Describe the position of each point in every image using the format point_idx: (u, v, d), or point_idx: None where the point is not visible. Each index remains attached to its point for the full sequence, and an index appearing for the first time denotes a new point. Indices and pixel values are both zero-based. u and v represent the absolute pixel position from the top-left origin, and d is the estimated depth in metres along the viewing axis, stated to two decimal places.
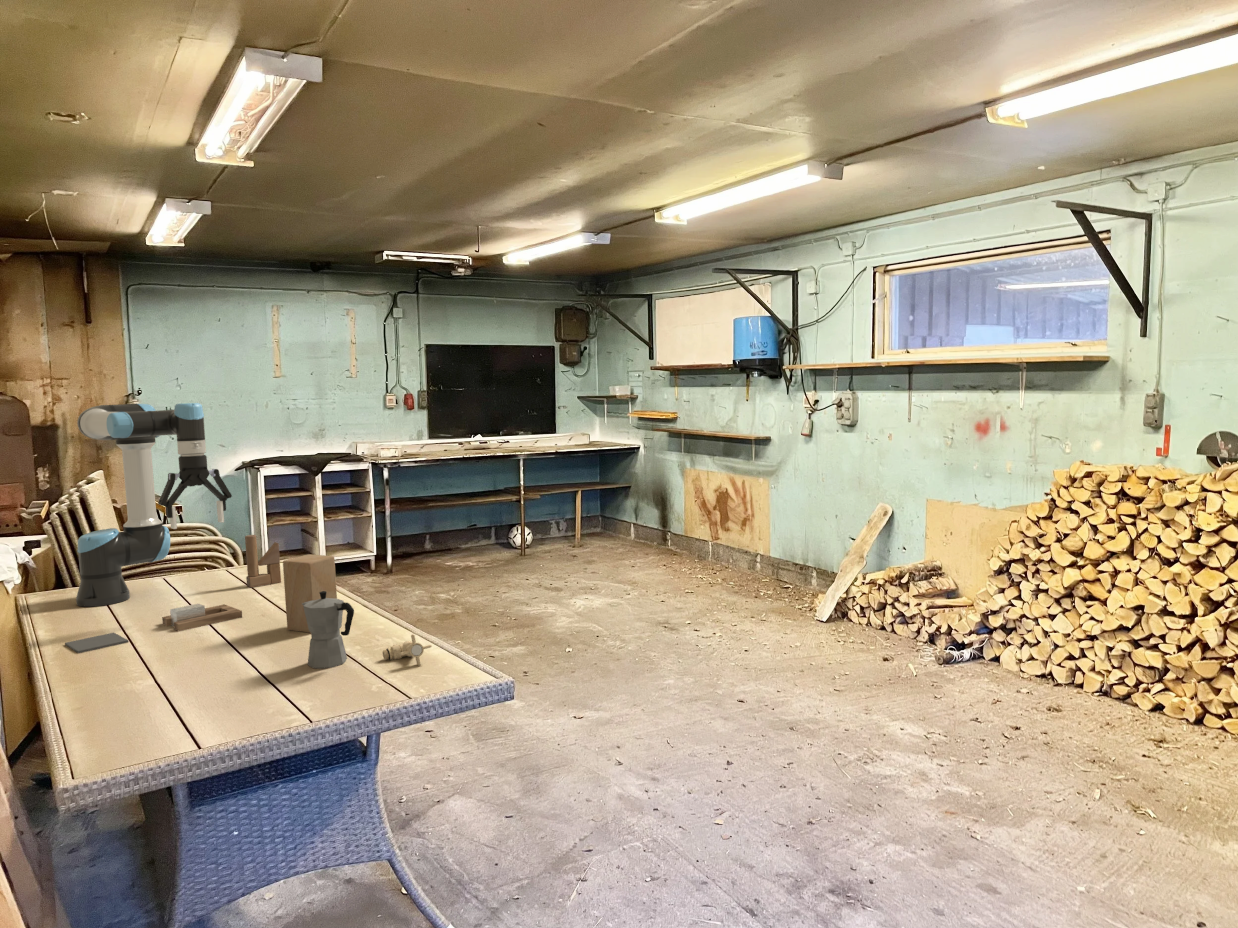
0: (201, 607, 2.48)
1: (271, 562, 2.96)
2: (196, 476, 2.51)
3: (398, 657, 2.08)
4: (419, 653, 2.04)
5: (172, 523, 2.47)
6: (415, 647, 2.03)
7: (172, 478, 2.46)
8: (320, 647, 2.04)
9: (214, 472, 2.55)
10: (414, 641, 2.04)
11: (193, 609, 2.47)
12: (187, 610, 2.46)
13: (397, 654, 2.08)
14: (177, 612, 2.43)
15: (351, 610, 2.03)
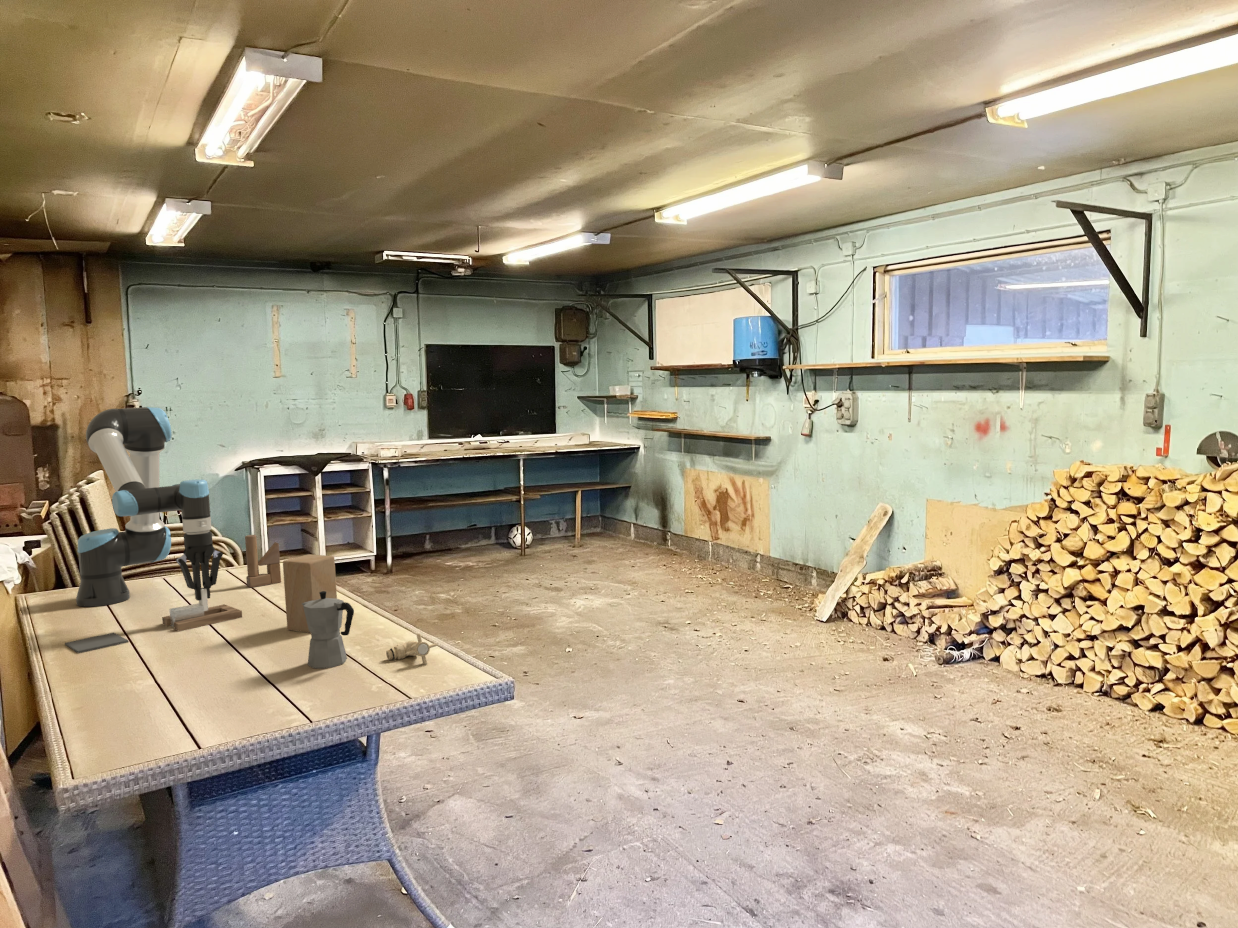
0: (200, 607, 2.48)
1: (271, 562, 2.96)
2: (202, 551, 2.49)
3: (402, 657, 2.09)
4: (425, 652, 2.04)
5: None
6: (421, 646, 2.04)
7: (182, 563, 2.45)
8: (320, 647, 2.04)
9: (218, 554, 2.53)
10: (420, 640, 2.04)
11: (192, 609, 2.46)
12: (186, 610, 2.45)
13: (401, 654, 2.08)
14: (175, 612, 2.43)
15: (351, 610, 2.03)
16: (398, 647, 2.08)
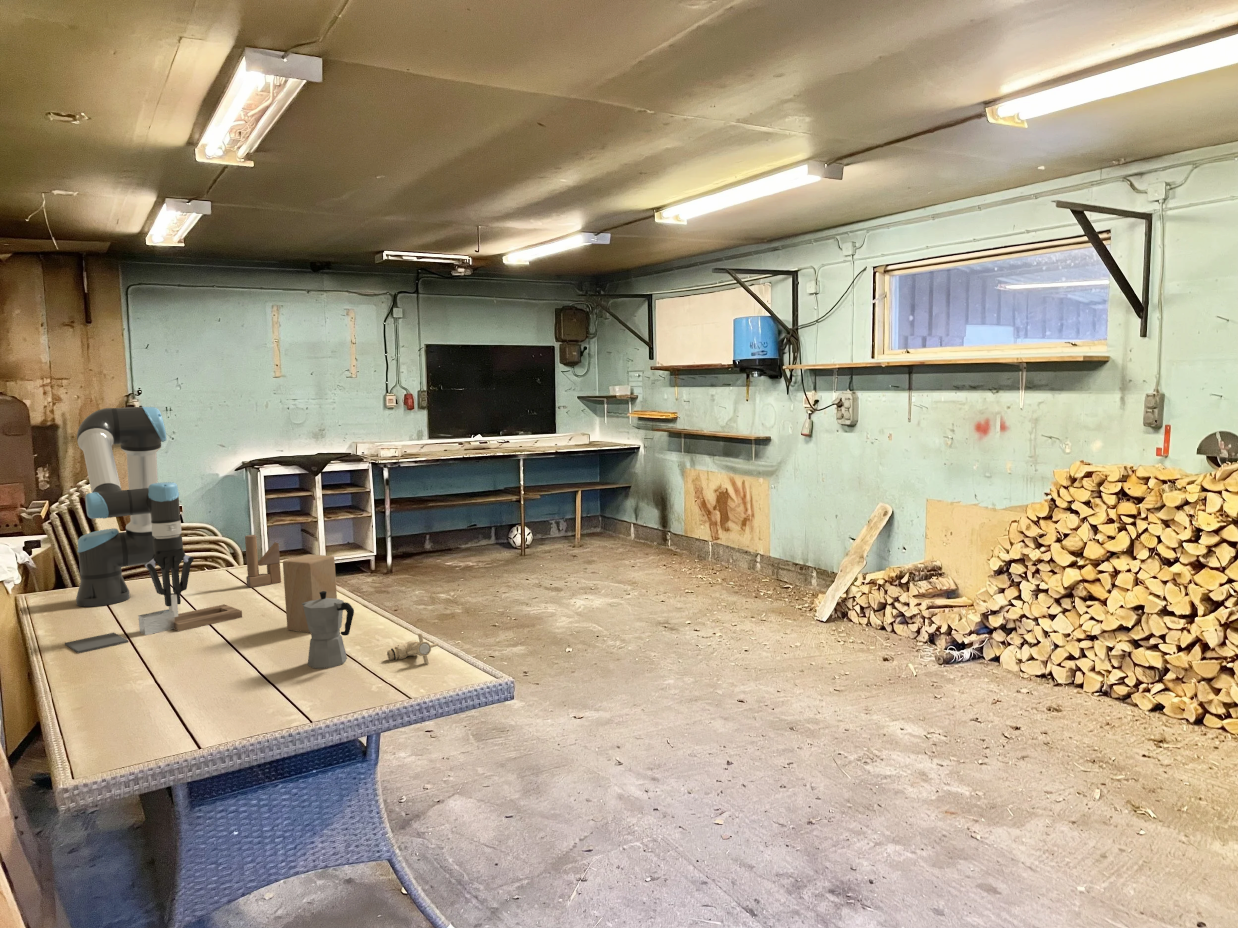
0: (170, 613, 2.42)
1: (271, 562, 2.96)
2: (172, 556, 2.43)
3: (403, 657, 2.09)
4: (427, 652, 2.04)
5: None
6: (422, 646, 2.04)
7: (151, 568, 2.39)
8: (320, 647, 2.04)
9: (188, 558, 2.47)
10: (421, 640, 2.04)
11: (162, 615, 2.40)
12: (155, 616, 2.39)
13: (402, 654, 2.08)
14: (145, 618, 2.37)
15: (351, 610, 2.03)
16: (399, 647, 2.08)
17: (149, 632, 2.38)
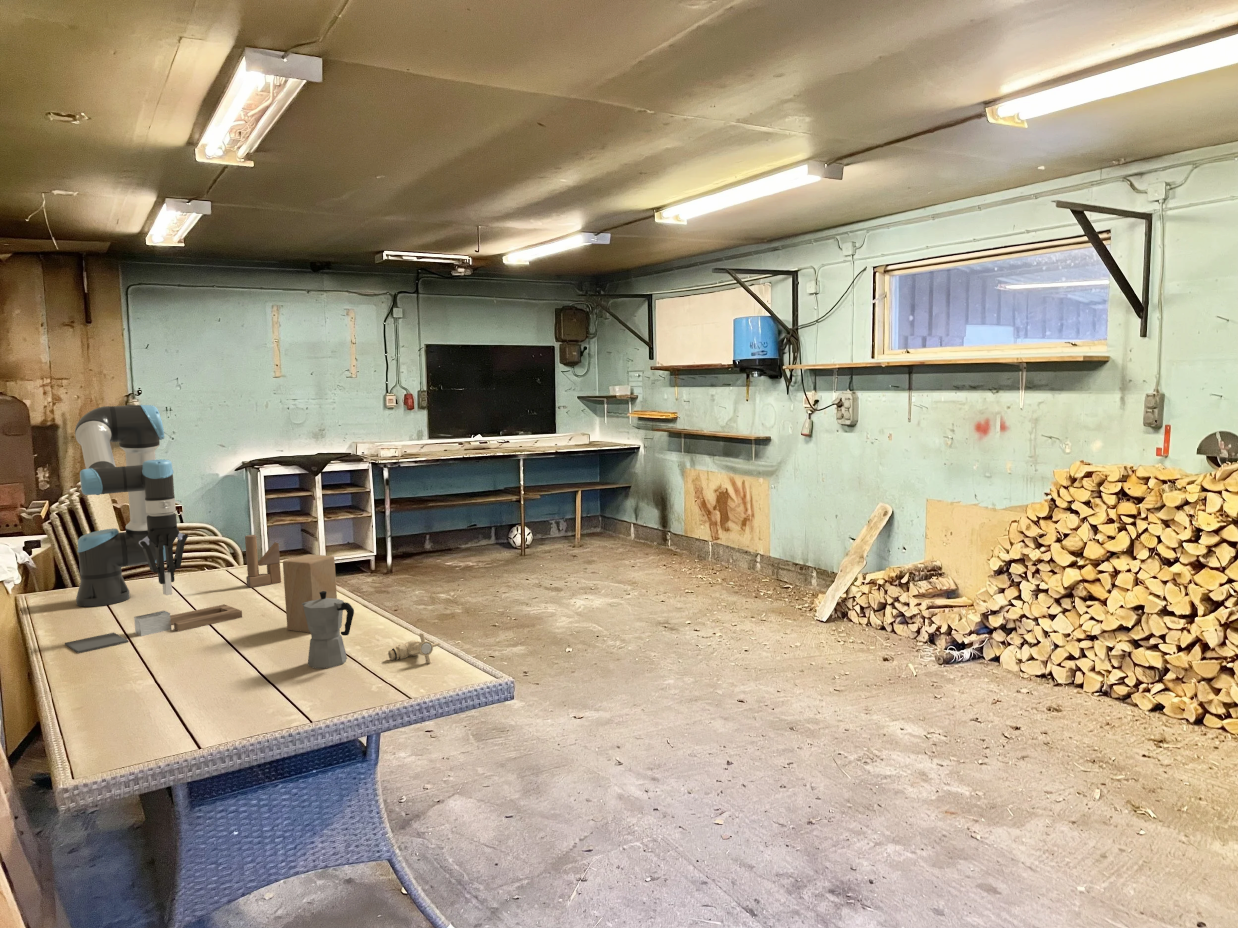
0: (166, 614, 2.41)
1: (271, 562, 2.96)
2: (166, 533, 2.41)
3: (404, 656, 2.09)
4: (429, 651, 2.05)
5: (164, 589, 2.43)
6: (424, 646, 2.04)
7: (145, 546, 2.37)
8: (320, 647, 2.04)
9: (182, 536, 2.45)
10: (423, 640, 2.05)
11: (158, 617, 2.39)
12: (151, 618, 2.38)
13: (404, 653, 2.08)
14: (141, 620, 2.36)
15: (351, 610, 2.03)
16: (400, 647, 2.08)
17: (145, 634, 2.37)
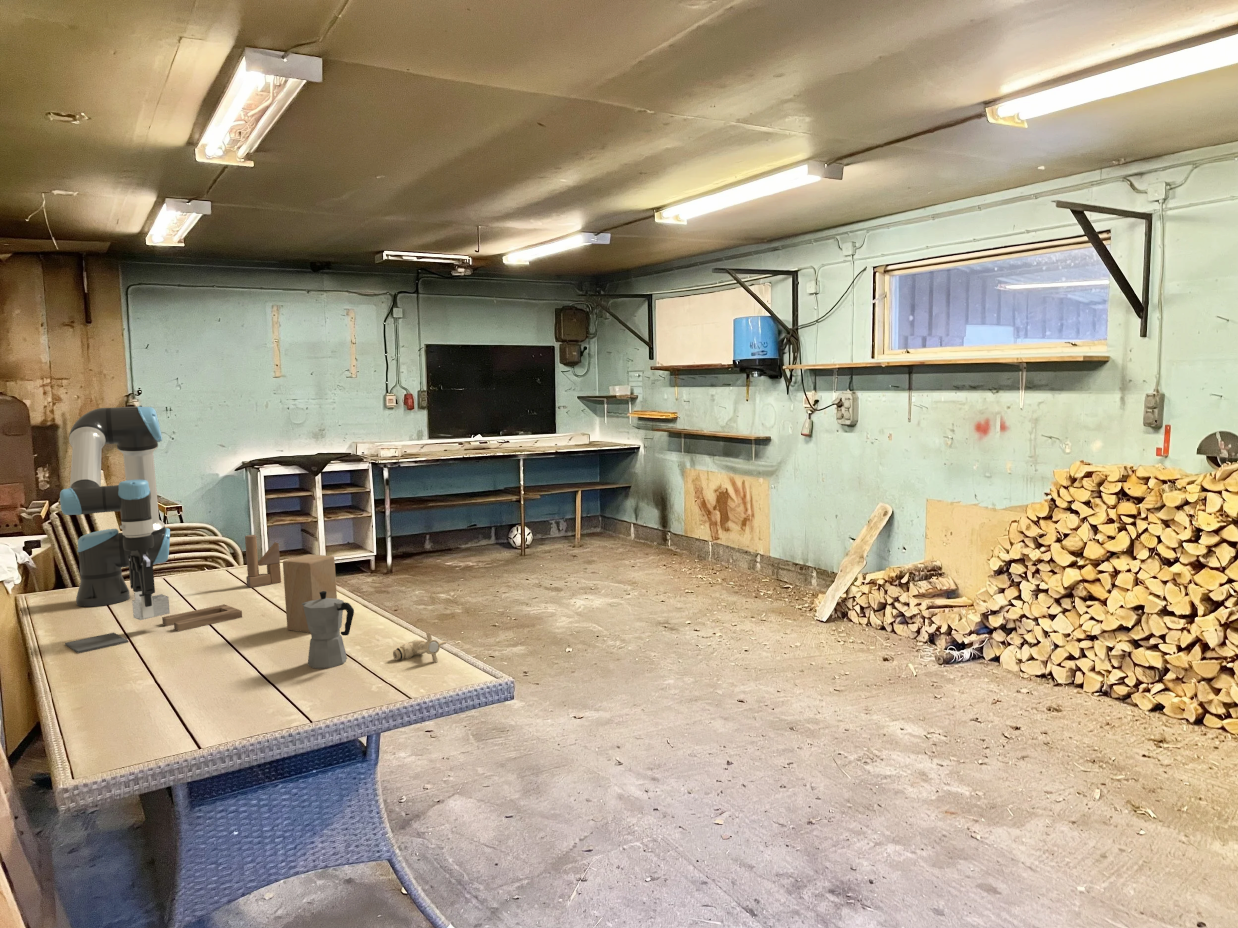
0: (165, 598, 2.42)
1: (271, 562, 2.96)
2: (135, 556, 2.37)
3: (409, 656, 2.09)
4: (436, 650, 2.06)
5: None
6: (432, 644, 2.05)
7: (128, 560, 2.41)
8: (320, 647, 2.04)
9: None
10: (430, 638, 2.06)
11: (156, 600, 2.40)
12: None
13: (409, 653, 2.09)
14: (140, 603, 2.36)
15: (351, 610, 2.03)
16: (405, 646, 2.09)
17: None
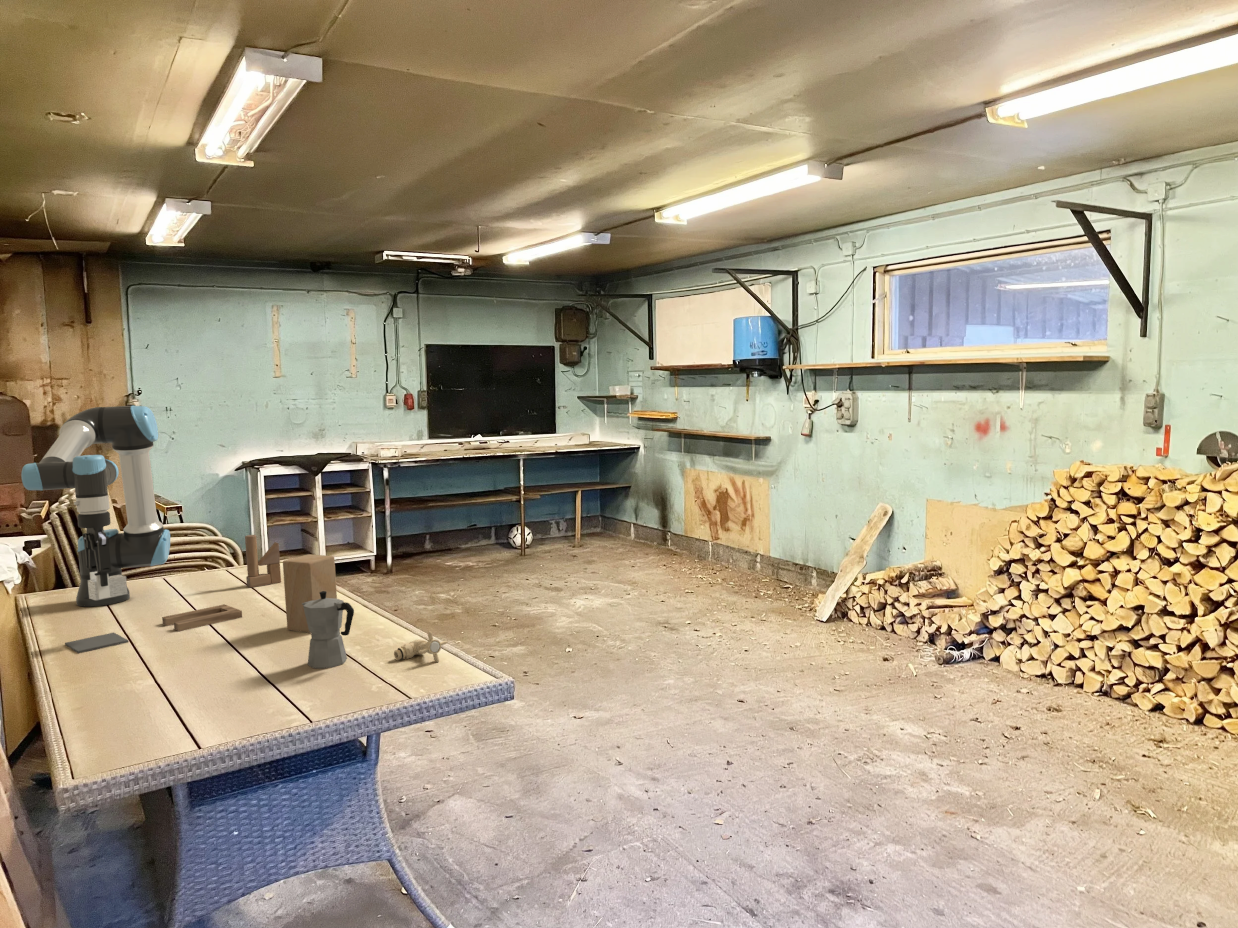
0: (122, 578, 2.33)
1: (271, 562, 2.96)
2: (91, 534, 2.28)
3: (410, 656, 2.09)
4: (437, 649, 2.06)
5: None
6: (433, 644, 2.05)
7: (84, 539, 2.32)
8: (320, 647, 2.04)
9: None
10: (432, 638, 2.06)
11: (113, 580, 2.31)
12: None
13: (410, 653, 2.09)
14: (96, 583, 2.28)
15: (351, 610, 2.03)
16: (406, 646, 2.09)
17: None
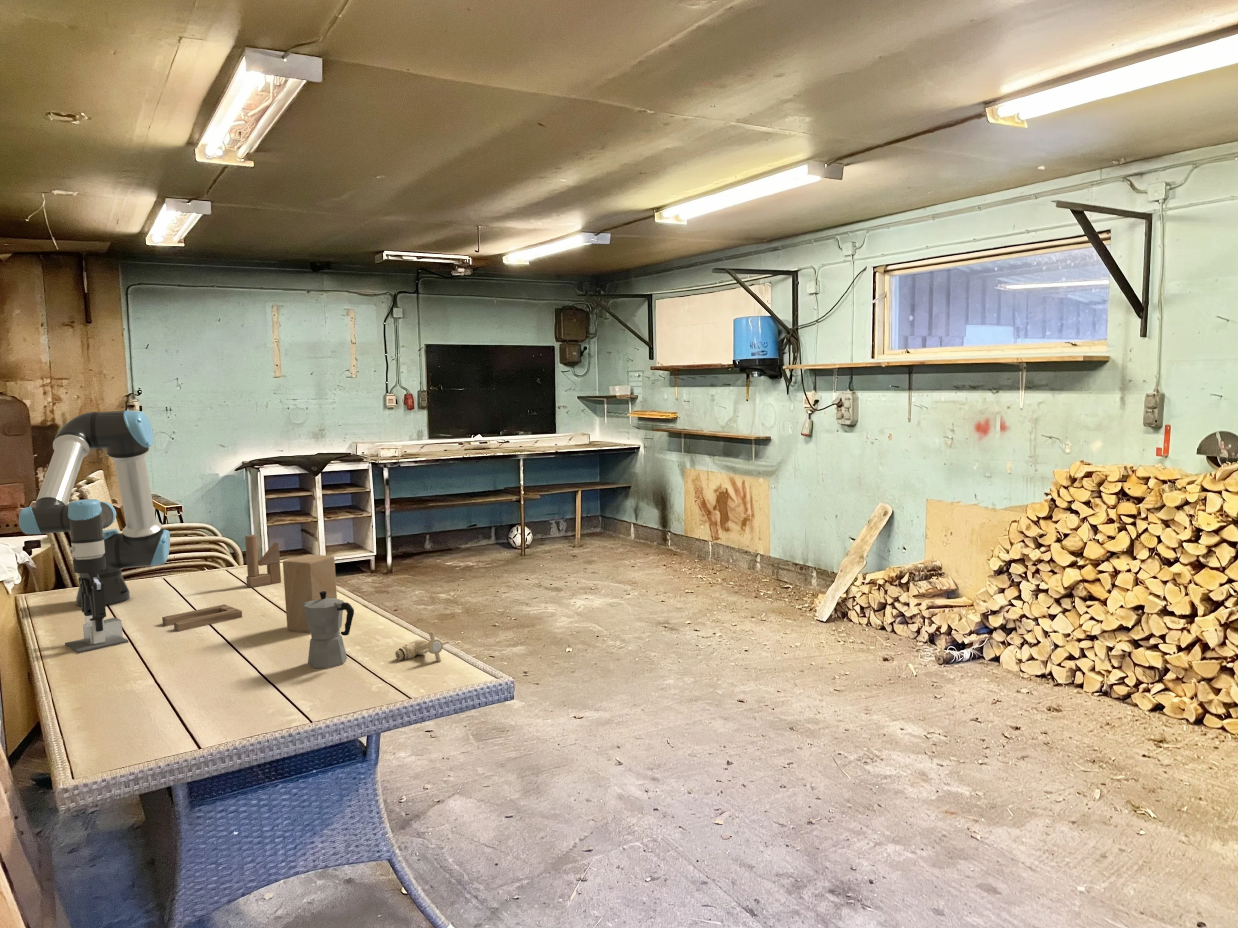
0: (117, 621, 2.32)
1: (271, 562, 2.96)
2: None
3: (412, 656, 2.09)
4: (439, 649, 2.06)
5: None
6: (435, 644, 2.06)
7: (79, 583, 2.32)
8: (320, 647, 2.04)
9: None
10: (433, 638, 2.06)
11: (108, 624, 2.31)
12: None
13: (411, 653, 2.09)
14: (90, 627, 2.27)
15: (351, 610, 2.03)
16: (408, 646, 2.09)
17: None
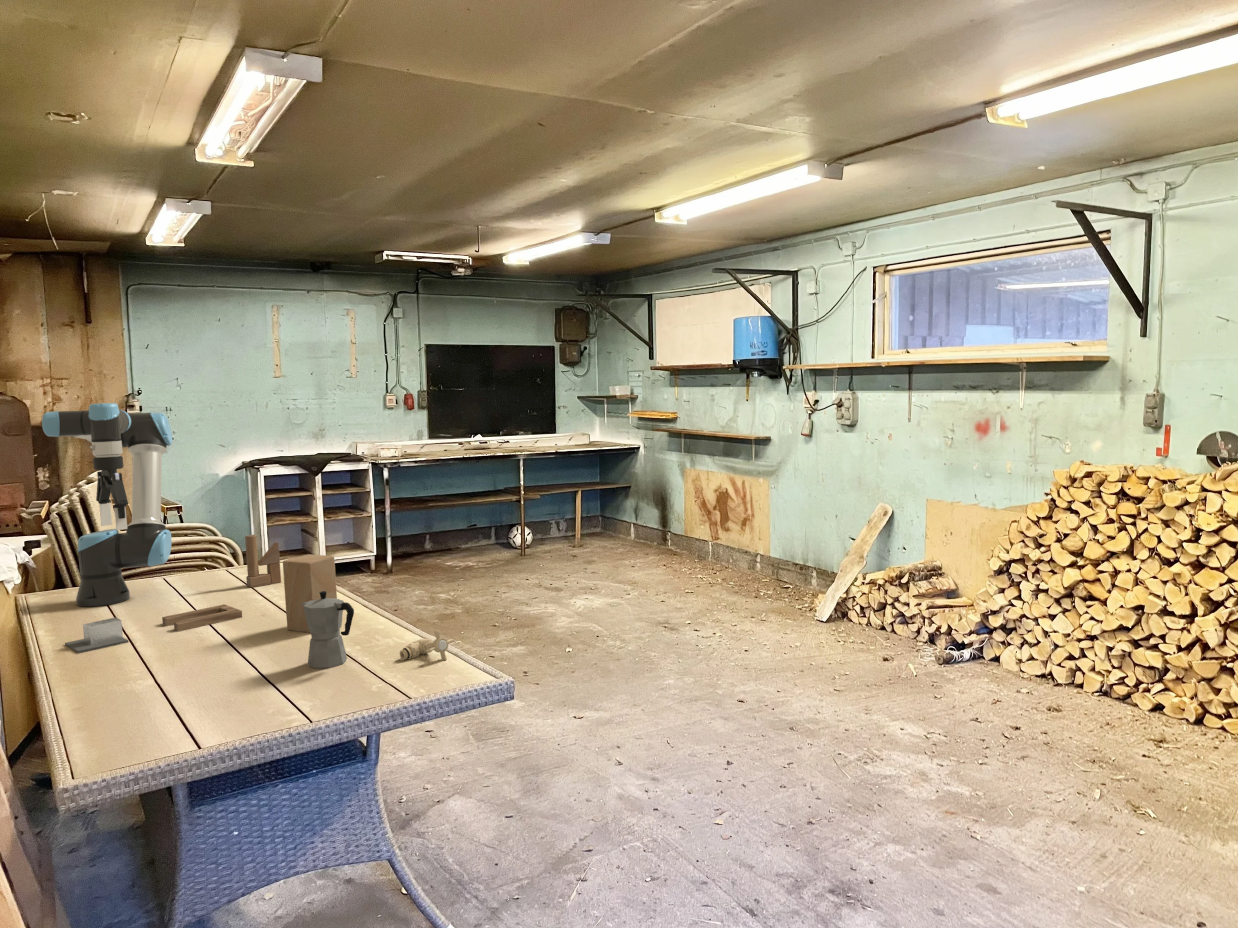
0: (117, 621, 2.32)
1: (271, 562, 2.96)
2: None
3: (416, 655, 2.09)
4: (445, 648, 2.07)
5: None
6: (441, 643, 2.06)
7: (98, 476, 2.51)
8: (320, 647, 2.04)
9: None
10: (439, 637, 2.07)
11: (108, 624, 2.31)
12: (102, 625, 2.29)
13: (416, 652, 2.09)
14: (90, 627, 2.27)
15: (351, 610, 2.03)
16: (412, 646, 2.09)
17: (95, 642, 2.28)
